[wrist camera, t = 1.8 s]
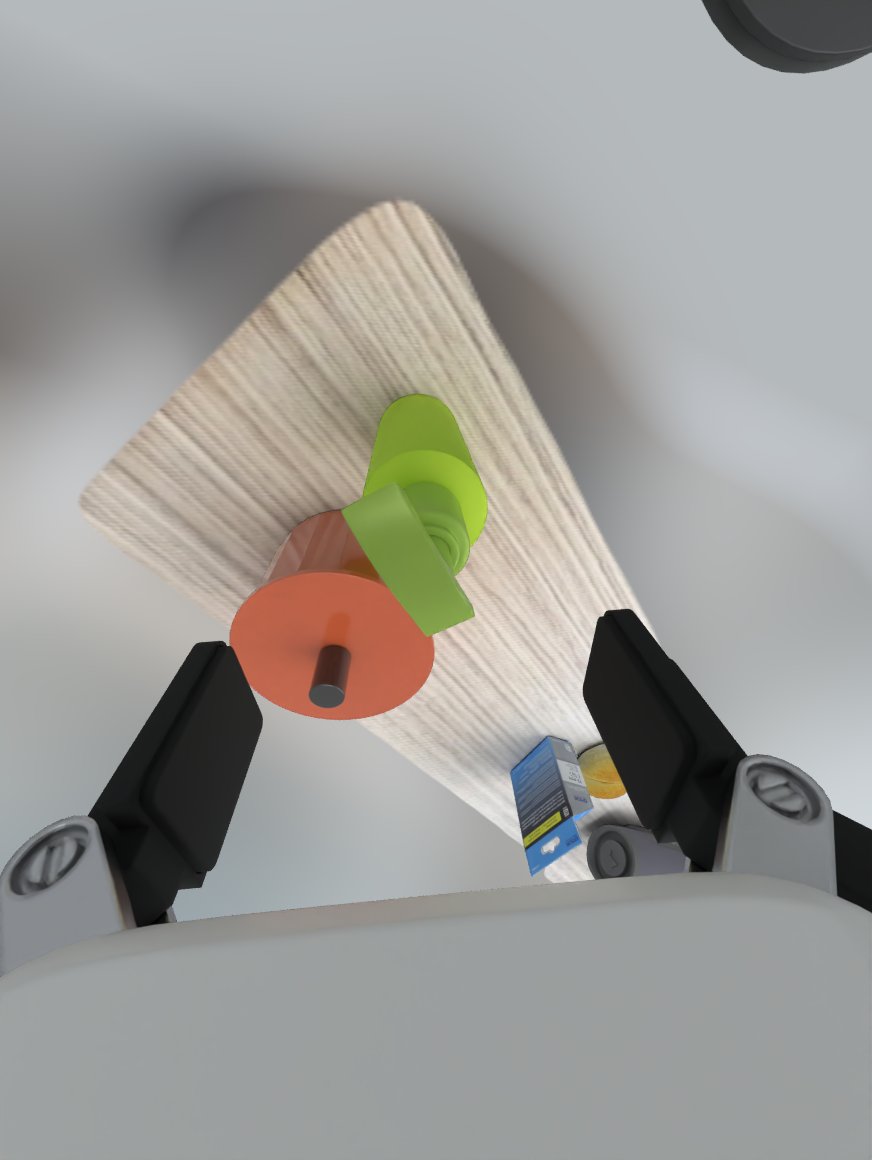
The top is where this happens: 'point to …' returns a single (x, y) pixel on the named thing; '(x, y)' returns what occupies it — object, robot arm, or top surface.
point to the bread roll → (600, 773)
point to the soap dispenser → (421, 511)
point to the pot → (320, 548)
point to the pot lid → (330, 645)
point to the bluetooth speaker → (631, 853)
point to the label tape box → (550, 801)
